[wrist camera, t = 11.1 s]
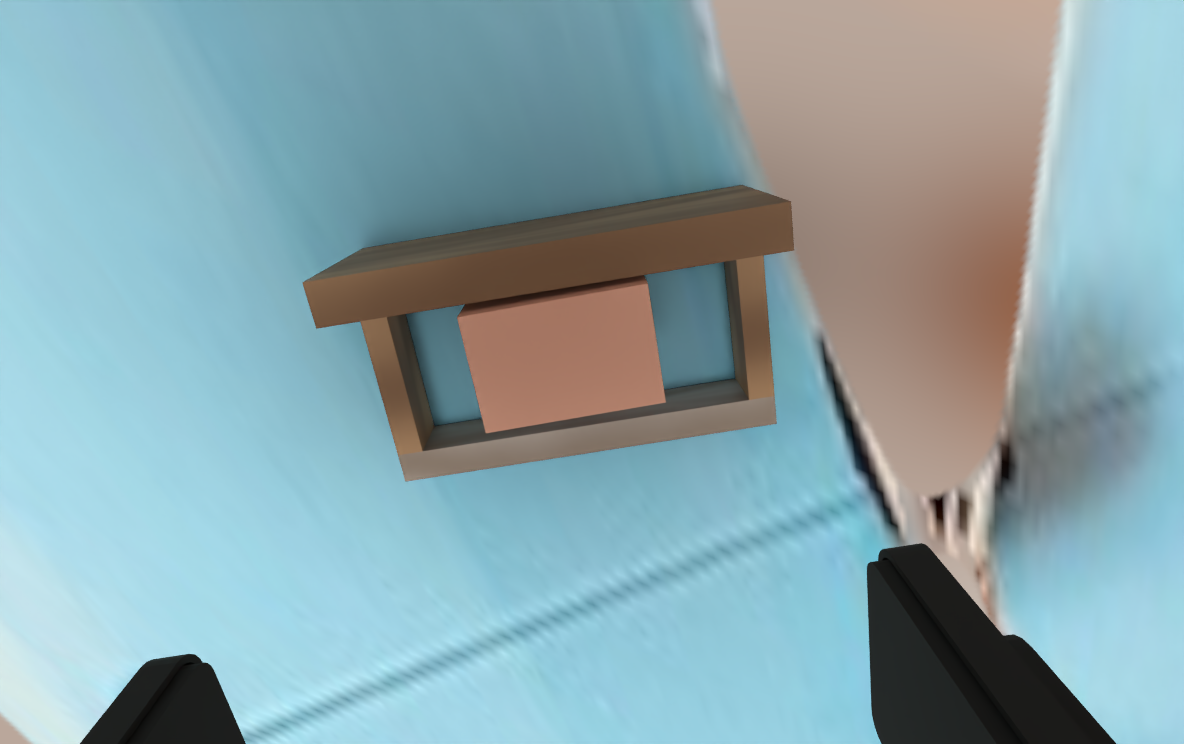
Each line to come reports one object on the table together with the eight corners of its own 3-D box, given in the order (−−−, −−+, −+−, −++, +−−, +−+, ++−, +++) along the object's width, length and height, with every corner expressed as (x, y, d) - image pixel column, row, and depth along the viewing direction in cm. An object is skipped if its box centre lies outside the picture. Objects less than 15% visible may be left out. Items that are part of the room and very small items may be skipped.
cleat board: (362, 248, 28) (302, 282, 22) (742, 184, 27) (790, 201, 21) (418, 454, 31) (379, 535, 25) (760, 400, 30) (808, 469, 24)
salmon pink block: (484, 273, 28) (457, 317, 22) (630, 246, 28) (647, 283, 21) (510, 382, 30) (491, 455, 23) (648, 358, 30) (669, 424, 23)
